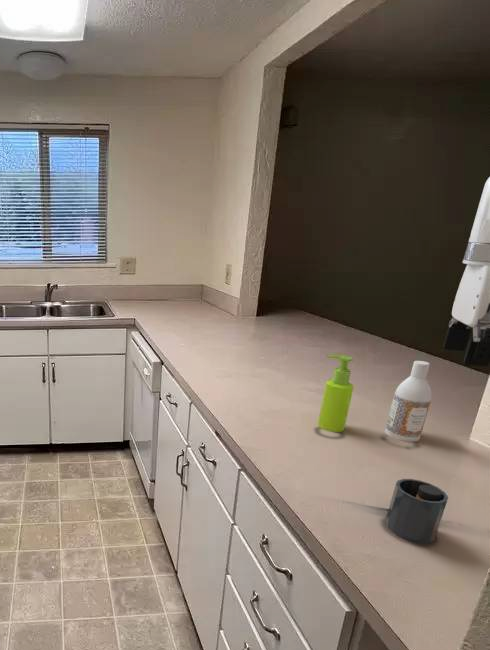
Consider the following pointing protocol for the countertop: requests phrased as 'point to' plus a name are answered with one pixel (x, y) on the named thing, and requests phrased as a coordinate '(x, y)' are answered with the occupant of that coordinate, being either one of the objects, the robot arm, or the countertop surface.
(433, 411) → the countertop surface
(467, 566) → the countertop surface
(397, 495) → the holder
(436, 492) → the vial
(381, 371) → the countertop surface
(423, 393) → the bath foam
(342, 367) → the soap dispenser
